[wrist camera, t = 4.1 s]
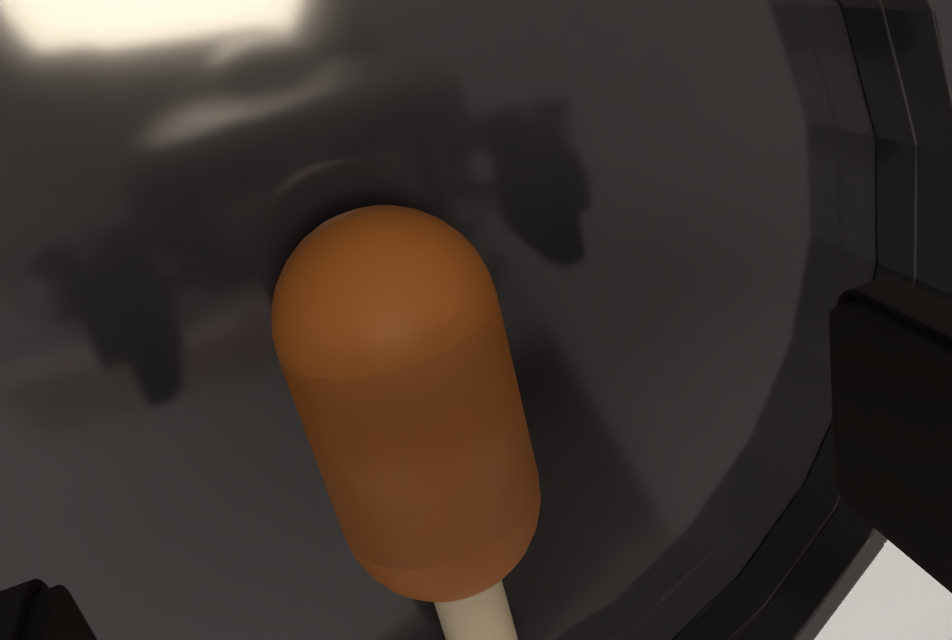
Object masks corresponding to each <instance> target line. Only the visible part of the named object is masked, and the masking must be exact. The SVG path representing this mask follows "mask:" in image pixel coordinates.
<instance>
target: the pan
mask: <svg viewBox="0 0 952 640" xmlns="http://www.w3.org/2000/svg"><path fill="white" fill-rule="evenodd" d="M374 205H395V206H402V207H409V208H414V209H417V210H420V211H423V212H425V213H428V214H430V215H433V216H435V217H438V218H439V219H441V220H442V221H444V222H445V223H447V224H448V225H450V226H451V227H453V228H454V229H456V230H457V231H459V232H460V233H461V234H462V235H463V236H464V237H465V238H466V239H467V240H468V241H469V242H470V243H471V244H472V245H473V246H474V248H475V249H476V251H477V252H478V254H479V255H480V257H481V259H482V260H483V262H484V264H485V265H486V267H487V269H488V270H489V272H490V274H491V277H492V280H493V283H494V286H495V289H496V292H497V296H498V300H499V305H500V309H501V313H502V318H503V322H504V327H505V331H506V335H507V340H508V344H509V348H510V353H511V357H512V361H513V366H514V370H515V374H516V379H517V383H518V388H519V392H520V396H521V401H522V405H523V409H524V414H525V418H526V422H527V427H528V431H529V435H530V440H531V444H532V449H533V453H534V457H535V462H536V466H537V470H538V475H539V486H540V495H541V503H540V510H539V517H538V523H537V528H536V530H535V533H534V535H533V537H532V540H531V542H530V544H529V546H528V548H527V551H526V553H525V554H524V556H523V557H522V558H521V560H520V561H519V562H518V564H517V565H516V566H515V567H514V568H513V569H512V570H511V571H510V572H509V573H508V574H507V575H506V576H505V577H504V578H503V579H502V582H503V586H504V590H505V594H506V597H507V601H508V605H509V608H510V612H511V616H512V619H513V623H514V627H515V630H516V634H517V638H518V640H814V639H815V638H816V636H817V635H818V633H819V632H820V631H821V629H822V628H823V627H824V625H825V624H826V623H827V621H828V620H829V619H830V617H831V616H832V615H833V613H834V612H835V611H836V609H837V608H838V607H839V605H840V604H841V603H842V601H843V600H844V599H845V597H846V596H847V595H848V593H849V592H850V591H851V589H852V588H853V587H854V585H855V584H856V583H857V581H858V580H859V579H860V577H861V576H862V575H863V573H864V572H865V571H866V569H867V568H868V567H869V565H870V564H871V563H872V561H873V560H874V559H875V557H876V556H877V554H878V553H879V552H880V550H881V549H882V548H883V546H884V544H883V543H886V542H887V540H888V539H887V538H885V537H884V536H883V535H882V534H881V533H880V532H878V531H877V530H876V529H875V528H874V527H872V526H871V525H870V524H869V523H868V522H866V521H865V520H864V519H863V518H862V517H860V516H859V515H858V514H857V513H856V512H855V511H853V510H852V509H851V508H850V507H849V506H848V505H847V504H846V503H845V501H844V500H843V499H842V497H841V495H840V493H839V491H838V489H837V486H836V482H835V471H834V445H833V418H832V392H831V365H830V339H829V314H830V312H831V310H832V309H833V308H834V307H835V306H837V301H838V298H839V296H840V295H841V294H842V293H843V292H844V291H846V290H849V289H852V288H854V287H857V286H860V285H863V284H866V283H868V282H871V281H874V280H877V279H880V278H884V277H891V278H895V279H898V280H900V281H902V282H904V283H906V284H909V285H911V286H913V287H915V288H918V289H920V290H922V291H924V292H926V293H929V294H931V295H933V296H935V297H938V298H940V299H942V300H944V301H946V302H949V303H951V304H952V0H0V591H1V590H4V589H7V588H10V587H13V586H16V585H18V584H21V583H24V582H27V581H30V580H32V579H41V580H42V581H43V582H44V583H46V584H47V586H48V587H49V588H51V587H54V586H56V585H63V586H64V587H66V588H67V589H68V591H69V592H70V594H71V595H72V597H73V599H74V600H75V602H76V604H77V606H78V607H79V609H80V611H81V612H82V614H83V616H84V618H85V619H86V621H87V623H88V625H89V626H90V628H91V630H92V632H93V633H94V635H95V637H96V638H97V640H446V638H445V635H444V632H443V629H442V626H441V623H440V620H439V617H438V614H437V611H436V608H435V604H434V602H428V601H421V600H416V599H411V598H408V597H405V596H402V595H399V594H397V593H395V592H394V591H392V590H390V589H389V588H387V587H385V586H384V585H382V584H381V583H379V582H377V581H376V580H374V579H373V578H372V576H371V575H370V574H369V573H368V572H367V571H366V570H365V569H364V568H363V567H362V565H361V564H360V563H359V562H358V561H357V560H356V559H355V557H354V555H353V553H352V551H351V549H350V548H349V546H348V544H347V542H346V540H345V538H344V535H343V532H342V530H341V527H340V524H339V522H338V519H337V516H336V514H335V511H334V508H333V506H332V503H331V500H330V497H329V495H328V492H327V489H326V487H325V484H324V481H323V479H322V476H321V473H320V470H319V468H318V465H317V462H316V460H315V457H314V454H313V452H312V449H311V446H310V443H309V441H308V438H307V435H306V433H305V430H304V427H303V425H302V422H301V419H300V416H299V414H298V411H297V408H296V406H295V403H294V400H293V398H292V395H291V392H290V390H289V387H288V384H287V381H286V379H285V376H284V373H283V371H282V368H281V365H280V363H279V360H278V357H277V354H276V350H275V346H274V342H273V338H272V325H271V308H272V301H273V296H274V291H275V286H276V283H277V281H278V279H279V276H280V274H281V272H282V269H283V267H284V265H285V263H286V261H287V259H288V258H289V257H290V255H291V254H292V253H293V251H294V250H295V248H296V247H297V246H298V244H299V243H300V242H301V241H302V240H303V239H304V238H305V237H306V236H307V235H309V234H310V233H311V232H312V231H313V230H315V229H316V228H317V227H318V226H320V225H321V224H322V223H324V222H325V221H327V220H329V219H331V218H333V217H335V216H337V215H340V214H342V213H345V212H348V211H351V210H354V209H358V208H363V207H368V206H374Z"/></svg>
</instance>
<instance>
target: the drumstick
mask: <svg viewBox="0 0 952 640" xmlns="http://www.w3.org/2000/svg"><path fill="white" fill-rule="evenodd" d="M271 325H272V338H273V342H274V346H275V350H276V354H277V357H278V360H279V363H280V365H281V368H282V371H283V373H284V376H285V379H286V381H287V384H288V387H289V390H290V392H291V395H292V398H293V400H294V403H295V406H296V408H297V411H298V414H299V416H300V419H301V422H302V425H303V427H304V430H305V433H306V435H307V438H308V441H309V443H310V446H311V449H312V452H313V454H314V457H315V460H316V462H317V465H318V468H319V470H320V473H321V476H322V479H323V481H324V484H325V487H326V489H327V492H328V495H329V497H330V500H331V503H332V506H333V508H334V511H335V514H336V516H337V519H338V522H339V524H340V527H341V530H342V532H343V535H344V538H345V540H346V542H347V544H348V546H349V548H350V549H351V551H352V553H353V555H354V557H355V559H356V560H357V561H358V562H359V563H360V564H361V565H362V567H363V568H364V569H365V570H366V571H367V572H368V573H369V574H370V575H371V576H372V578H373V579H374V580H376V581H377V582H379V583H381V584H382V585H384V586H385V587H387V588H389V589H390V590H392V591H394V592H395V593H397V594H399V595H402V596H405V597H408V598H411V599H416V600H421V601H428V602H434V604H435V608H436V611H437V614H438V617H439V620H440V623H441V626H442V629H443V632H444V635H445V638H446V640H518V638H517V634H516V630H515V627H514V623H513V619H512V616H511V612H510V608H509V605H508V601H507V597H506V594H505V590H504V586H503V582H502V579H503V578H504V577H505V576H506V575H507V574H508V573H509V572H510V571H511V570H512V569H513V568H514V567H515V566H516V565H517V564H518V562H519V561H520V560H521V558H522V557H523V556H524V554H525V553H526V551H527V548H528V546H529V544H530V542H531V540H532V537H533V535H534V533H535V530H536V528H537V523H538V517H539V510H540V503H541V495H540V486H539V475H538V470H537V466H536V462H535V457H534V453H533V449H532V444H531V440H530V435H529V431H528V427H527V422H526V418H525V414H524V409H523V405H522V401H521V396H520V392H519V388H518V383H517V379H516V374H515V370H514V366H513V361H512V357H511V353H510V348H509V344H508V340H507V335H506V331H505V327H504V322H503V318H502V313H501V309H500V305H499V300H498V296H497V292H496V289H495V286H494V283H493V280H492V277H491V274H490V272H489V270H488V269H487V267H486V265H485V264H484V262H483V260H482V259H481V257H480V255H479V254H478V252H477V251H476V249H475V248H474V246H473V245H472V244H471V243H470V242H469V241H468V240H467V239H466V238H465V237H464V236H463V235H462V234H461V233H460V232H459V231H457V230H456V229H454V228H453V227H451V226H450V225H448V224H447V223H445V222H444V221H442V220H441V219H439V218H438V217H435V216H433V215H430V214H428V213H425V212H423V211H420V210H417V209H414V208H409V207H402V206H395V205H374V206H368V207H363V208H358V209H354V210H351V211H348V212H345V213H342V214H340V215H337V216H335V217H333V218H331V219H329V220H327V221H325V222H324V223H322V224H321V225H320V226H318V227H317V228H316V229H315V230H313V231H312V232H311V233H310V234H309V235H307V236H306V237H305V238H304V239H303V240H302V241H301V242H300V243H299V244H298V246H297V247H296V248H295V250H294V251H293V253H292V254H291V255H290V257H289V258H288V259H287V261H286V263H285V265H284V267H283V269H282V272H281V274H280V276H279V279H278V281H277V283H276V286H275V291H274V296H273V301H272V308H271Z"/></svg>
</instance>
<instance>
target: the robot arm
mask: <svg viewBox="0 0 952 640" xmlns="http://www.w3.org/2000/svg"><path fill="white" fill-rule="evenodd" d="M829 339H830V365H831V392H832V418H833V445H834V471H835V482H836V486H837V489H838V491H839V493H840V495H841V497H842V499H843V500H844V501H845V503H846V504H847V505H848V506H849V507H850V508H851V509H852V510H853V511H855V512H856V513H857V514H858V515H859V516H860V517H862V518H863V519H864V520H865V521H866V522H868V523H869V524H870V525H871V526H872V527H874V528H875V529H876V530H877V531H878V532H880V533H881V534H882V535H883V536H884V537H885V538H887V539H888V540H889V541H890V542H891V543H893V544H894V545H895V546H896V547H897V548H899V549H900V550H901V551H902V552H903V553H905V554H906V555H907V556H908V557H909V558H911V559H912V560H913V561H914V562H915V563H916V564H918V565H919V566H920V567H921V568H922V569H924V570H925V571H926V572H927V573H928V574H930V575H931V576H932V577H933V578H934V579H936V580H937V581H938V582H939V583H940V584H941V585H943V586H944V587H945V588H946V589H947V590H949V591H950V592H951V593H952V304H951V303H949V302H946V301H944V300H942V299H940V298H938V297H935V296H933V295H931V294H929V293H926V292H924V291H922V290H920V289H918V288H915V287H913V286H911V285H909V284H906V283H904V282H902V281H900V280H898V279H895V278H891V277H884V278H880V279H877V280H874V281H871V282H868V283H866V284H863V285H860V286H857V287H854V288H852V289H849V290H846V291H844V292H843V293H842V294H841V295H840V296H839V298H838V301H837V306H835V307H834V308H833V309H832V310H831V312H830V314H829ZM0 640H97V638H96V637H95V635H94V633H93V632H92V630H91V628H90V626H89V625H88V623H87V621H86V619H85V618H84V616H83V614H82V612H81V611H80V609H79V607H78V606H77V604H76V602H75V600H74V599H73V597H72V595H71V594H70V592H69V591H68V589H67V588H66V587H64V586H63V585H56V586H54V587H51V588H49V587H48V586H47V584H46V583H44V582H43V581H42V580H41V579H32V580H30V581H27V582H24V583H21V584H18V585H16V586H13V587H10V588H7V589H4V590H1V591H0Z"/></svg>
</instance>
